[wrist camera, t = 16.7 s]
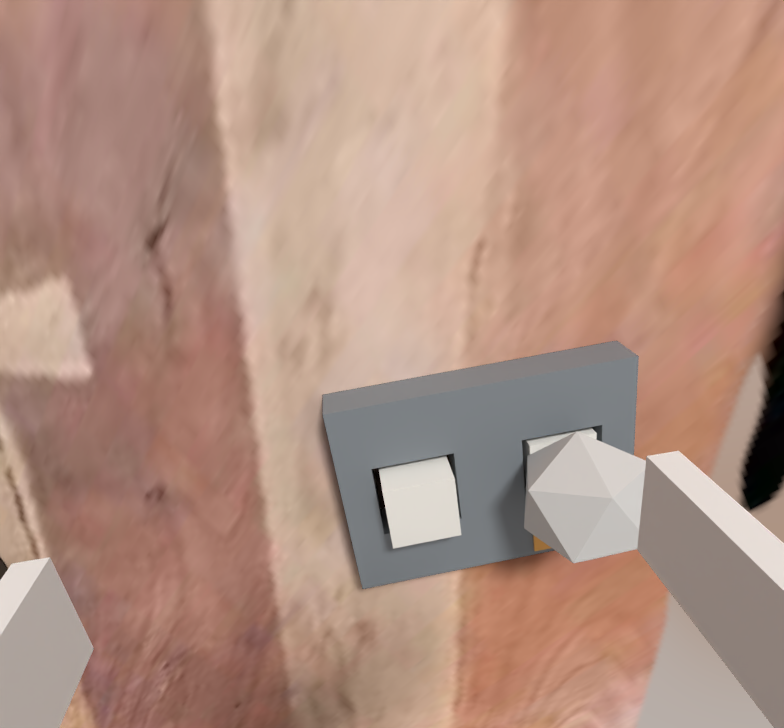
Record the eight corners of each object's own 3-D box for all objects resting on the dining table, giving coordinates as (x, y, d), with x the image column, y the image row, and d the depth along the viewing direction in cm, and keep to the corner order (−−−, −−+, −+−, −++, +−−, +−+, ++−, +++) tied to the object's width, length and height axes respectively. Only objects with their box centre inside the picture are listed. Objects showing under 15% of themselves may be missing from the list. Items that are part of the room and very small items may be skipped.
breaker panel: (360, 561, 45) (362, 591, 42) (322, 394, 38) (322, 416, 36) (611, 511, 46) (631, 536, 43) (616, 340, 40) (640, 357, 37)
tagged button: (518, 476, 44) (532, 501, 41) (515, 423, 41) (529, 445, 39) (577, 464, 44) (595, 488, 41) (577, 412, 42) (596, 433, 39)
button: (388, 519, 41) (393, 548, 38) (378, 465, 39) (382, 492, 36) (451, 506, 41) (461, 535, 38) (445, 452, 39) (454, 478, 36)
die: (502, 515, 42) (613, 607, 36) (478, 479, 35) (611, 586, 29) (567, 436, 43) (684, 513, 37) (556, 387, 36) (697, 472, 30)
